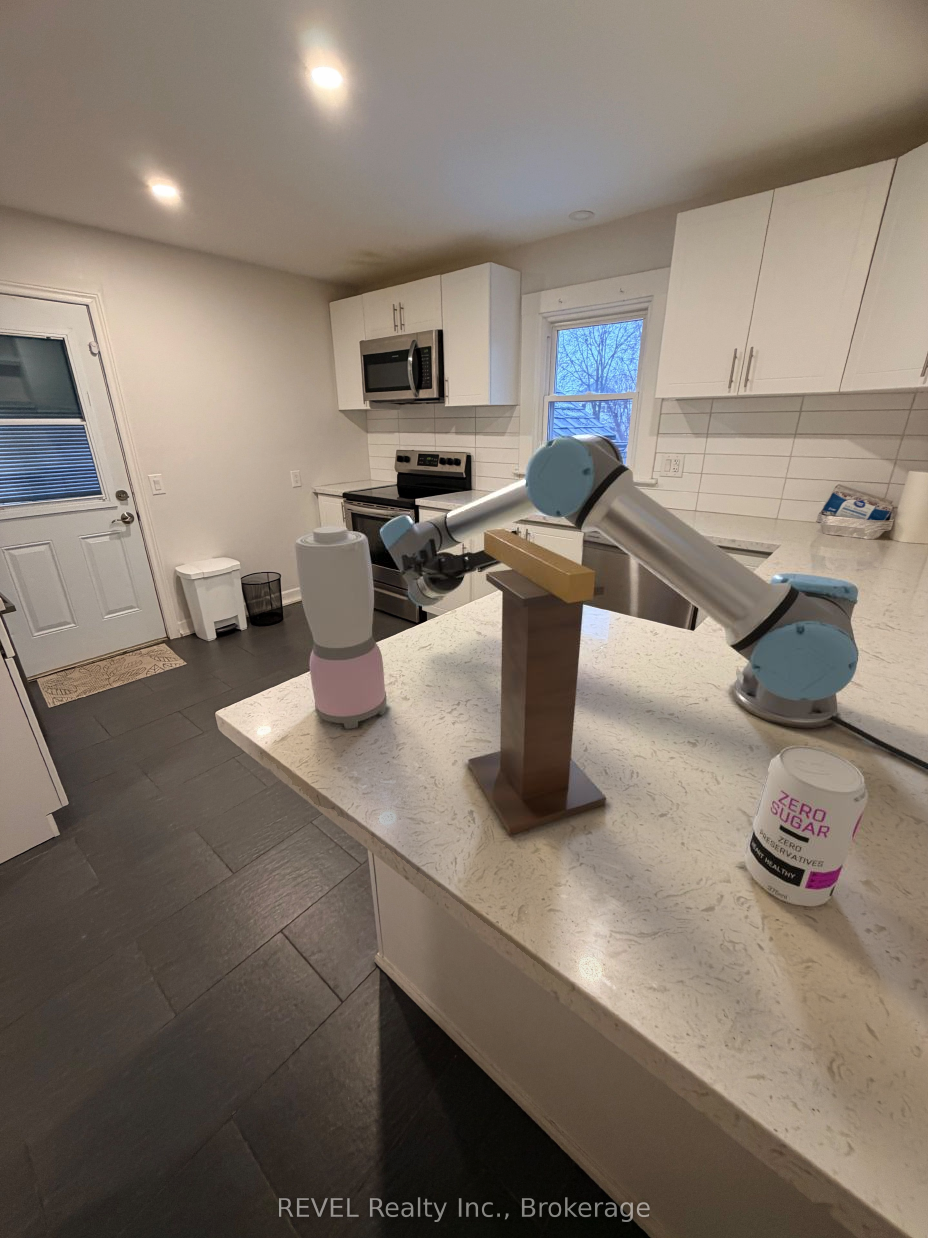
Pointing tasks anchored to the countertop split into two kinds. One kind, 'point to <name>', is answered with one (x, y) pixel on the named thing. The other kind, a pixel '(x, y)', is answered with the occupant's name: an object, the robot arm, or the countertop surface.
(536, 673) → the brown pedestal stand
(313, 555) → the blender
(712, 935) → the countertop surface
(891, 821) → the countertop surface
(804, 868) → the supplement can
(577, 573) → the golden brown bar
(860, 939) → the countertop surface
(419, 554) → the robot arm
